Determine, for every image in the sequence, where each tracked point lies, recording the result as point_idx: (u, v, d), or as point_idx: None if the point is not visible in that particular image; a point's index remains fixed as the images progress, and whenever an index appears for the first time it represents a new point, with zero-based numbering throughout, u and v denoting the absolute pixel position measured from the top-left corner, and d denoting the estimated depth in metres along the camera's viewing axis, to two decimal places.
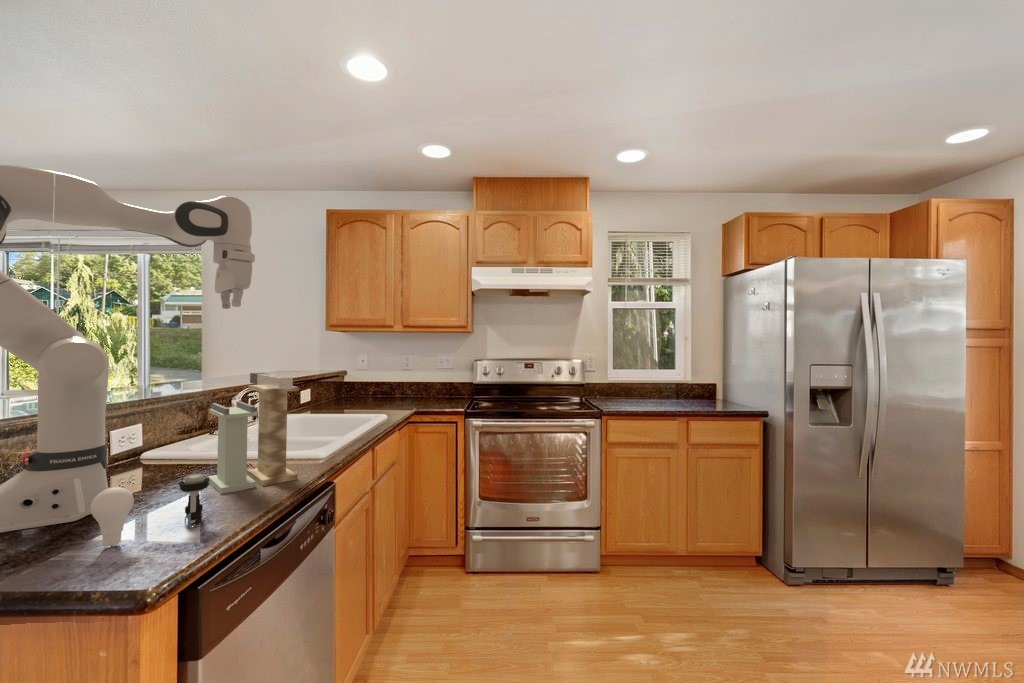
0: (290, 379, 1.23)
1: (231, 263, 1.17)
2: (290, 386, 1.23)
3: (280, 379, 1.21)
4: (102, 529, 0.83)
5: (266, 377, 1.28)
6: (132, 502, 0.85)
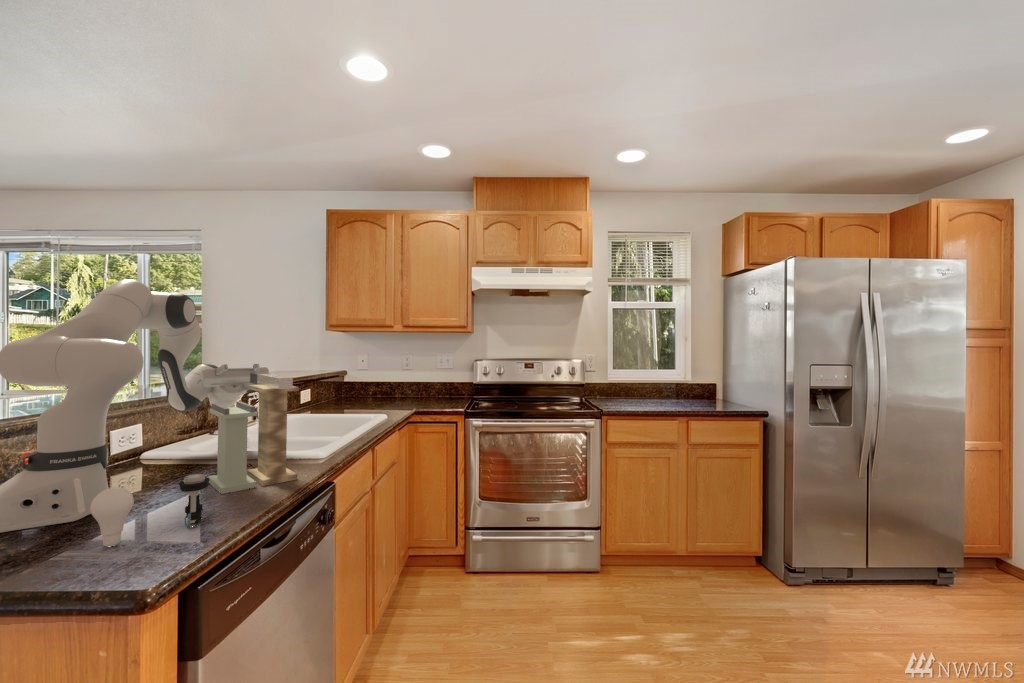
0: (290, 379, 1.23)
1: None
2: (290, 386, 1.23)
3: (280, 379, 1.21)
4: (102, 529, 0.83)
5: (266, 377, 1.28)
6: (132, 502, 0.85)
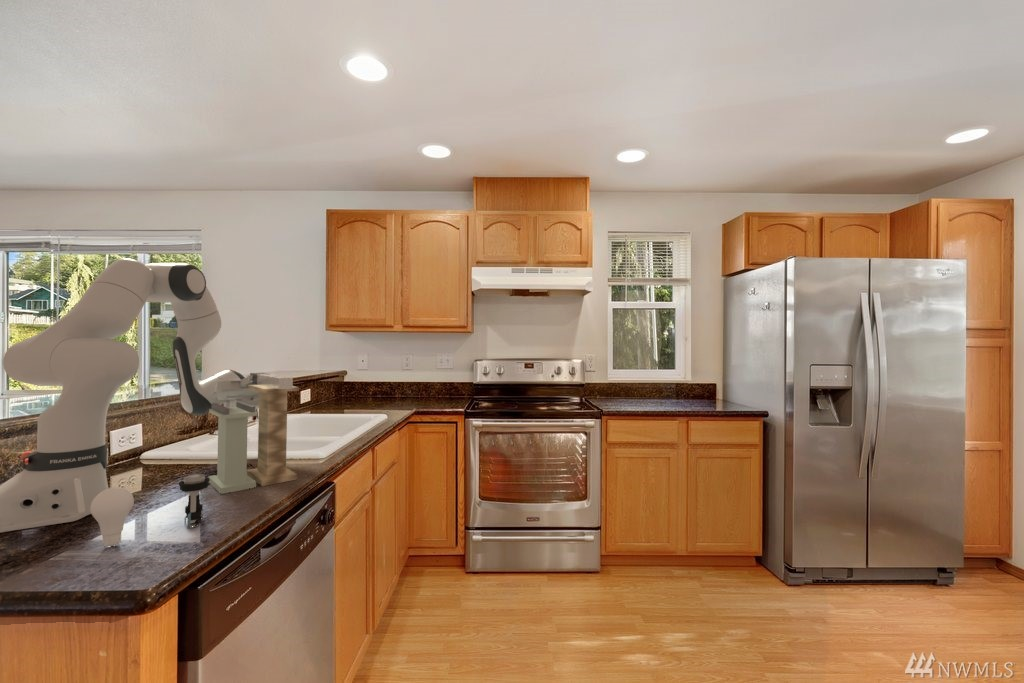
0: (290, 379, 1.23)
1: None
2: (290, 386, 1.23)
3: (280, 379, 1.21)
4: (102, 529, 0.83)
5: (266, 377, 1.28)
6: (132, 502, 0.85)
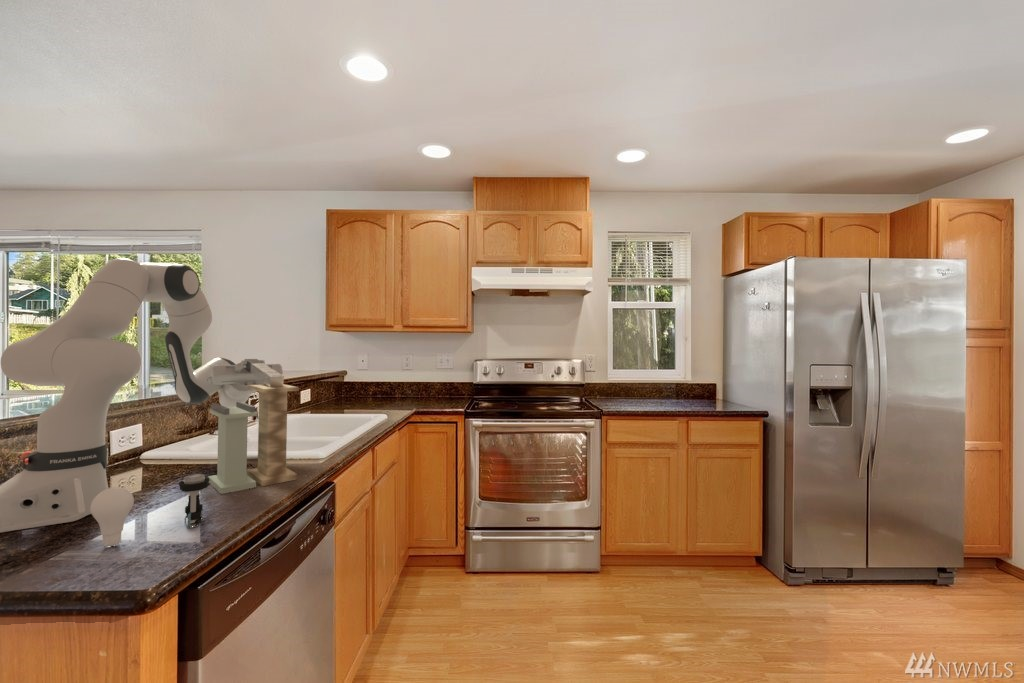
0: (281, 377, 1.28)
1: None
2: (281, 384, 1.28)
3: (272, 377, 1.26)
4: (102, 529, 0.83)
5: (259, 370, 1.33)
6: (132, 502, 0.85)
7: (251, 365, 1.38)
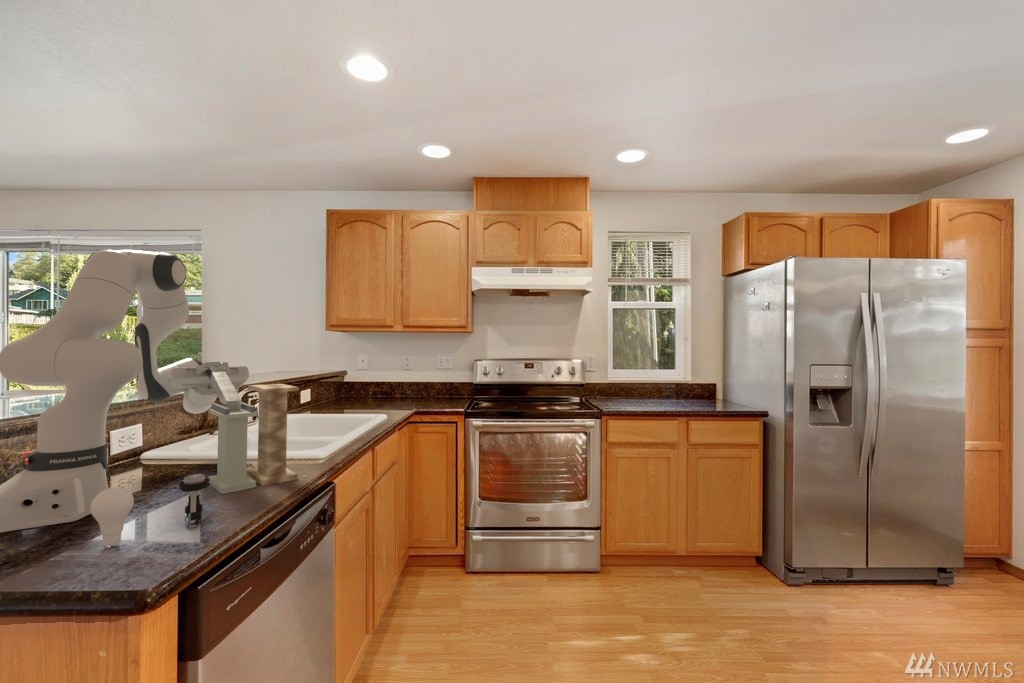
0: (239, 401, 1.22)
1: None
2: (238, 408, 1.22)
3: (228, 402, 1.20)
4: (102, 529, 0.83)
5: (217, 385, 1.26)
6: (132, 502, 0.85)
7: (211, 374, 1.32)
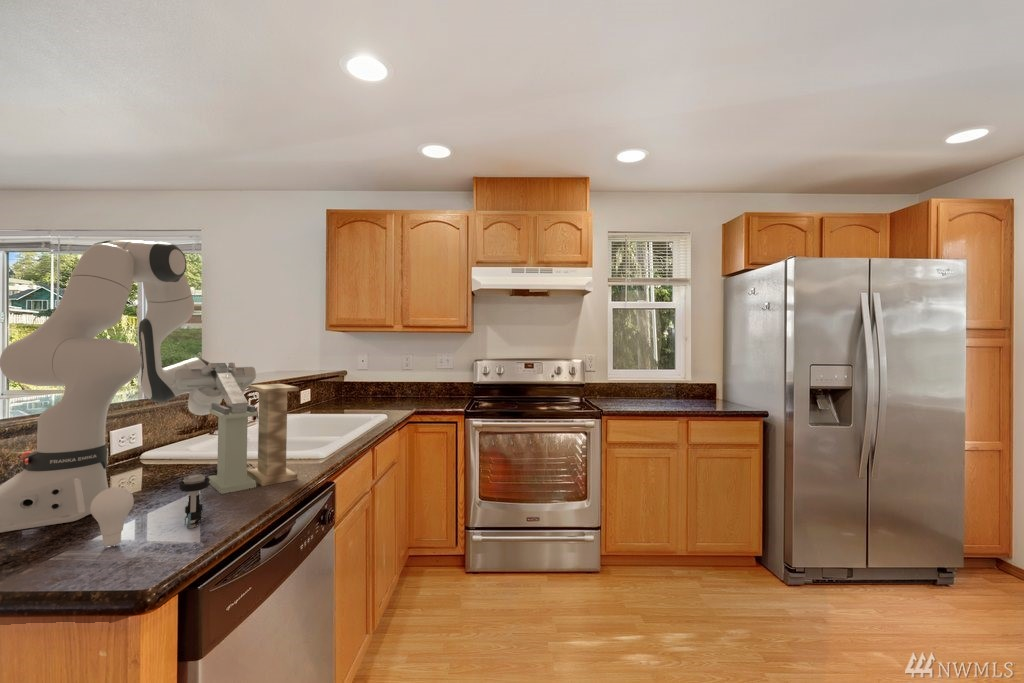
0: (245, 403, 1.18)
1: None
2: (244, 410, 1.18)
3: (234, 404, 1.16)
4: (102, 529, 0.83)
5: (223, 387, 1.22)
6: (132, 502, 0.85)
7: (216, 375, 1.28)
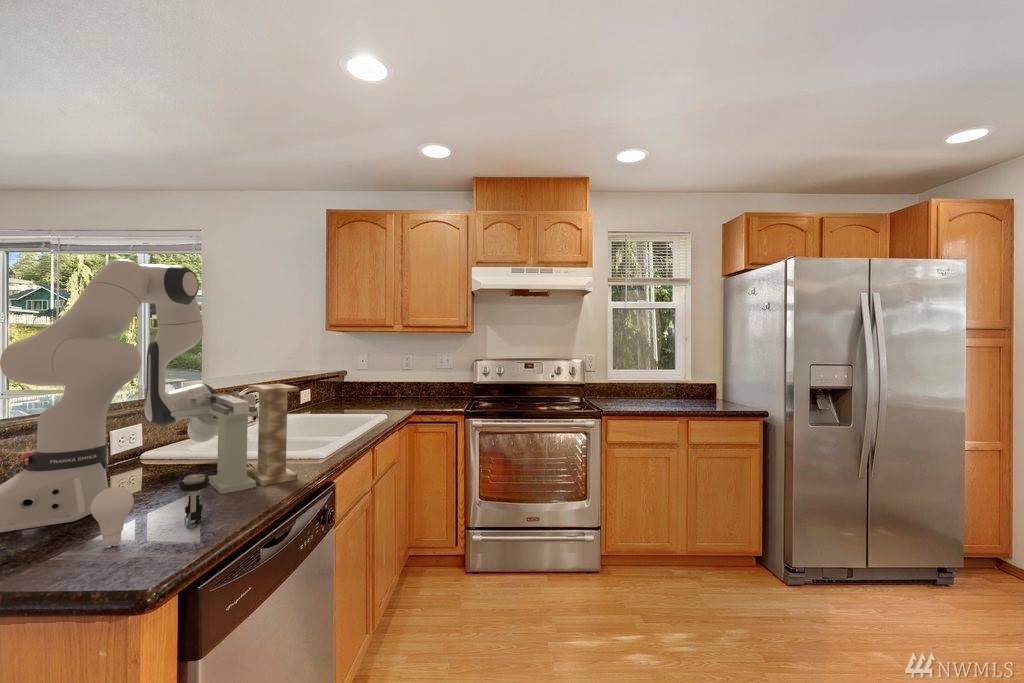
0: (246, 403, 1.17)
1: None
2: (246, 411, 1.17)
3: (235, 404, 1.15)
4: (102, 529, 0.83)
5: (223, 400, 1.22)
6: (132, 502, 0.85)
7: (216, 398, 1.28)
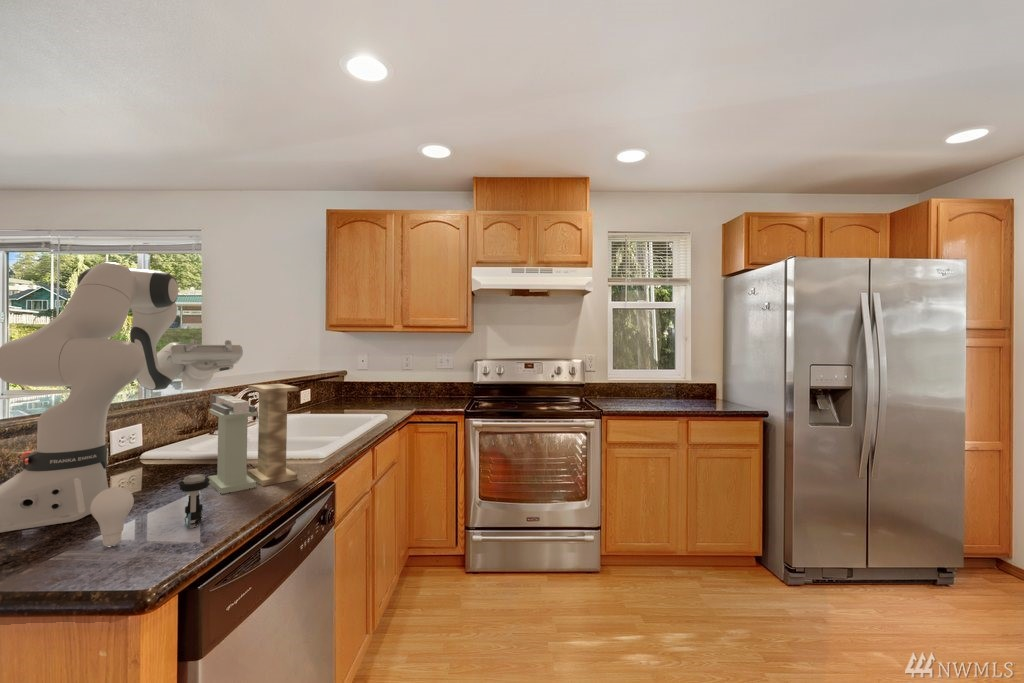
0: (246, 403, 1.17)
1: None
2: (246, 411, 1.17)
3: (235, 404, 1.15)
4: (102, 529, 0.83)
5: (223, 400, 1.22)
6: (132, 502, 0.85)
7: (216, 398, 1.28)
